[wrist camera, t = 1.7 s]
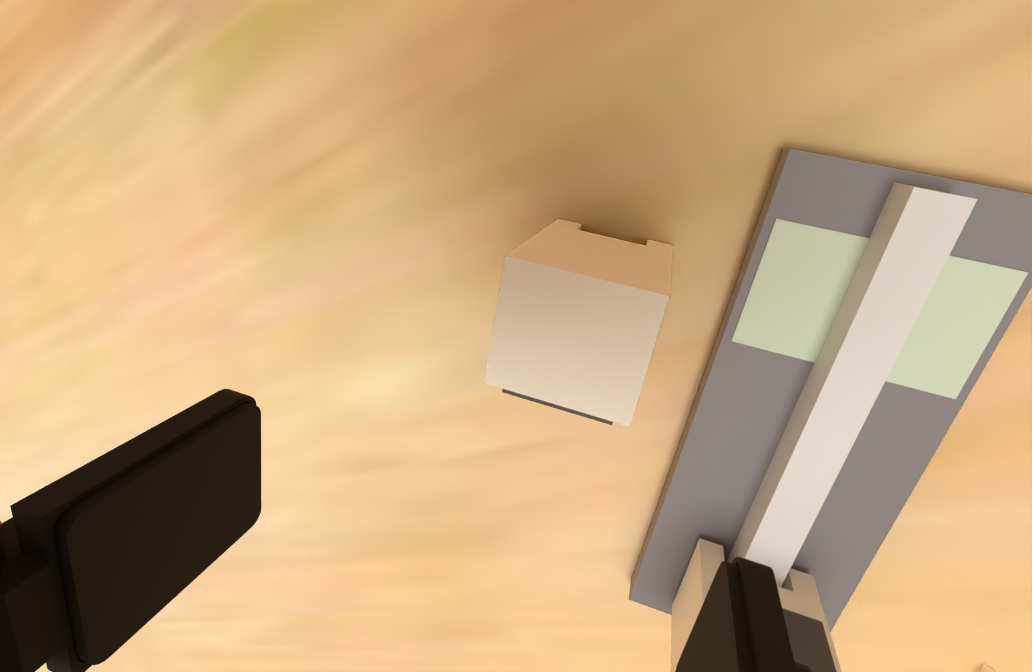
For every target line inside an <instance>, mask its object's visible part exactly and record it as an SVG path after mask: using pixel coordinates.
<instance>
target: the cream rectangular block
mask: <svg viewBox="0 0 1032 672" xmlns="http://www.w3.org/2000/svg"><path fill="white" fill-rule="evenodd" d="M581 227H582V224H579V223H575V222H571V221H566V220H562V219H557V220H556V221H554V222H553V223H551V224H550V225H548V226H547V227H545V228H544V229H543V230H541V231H540V232H538V233H537V234H535V235H534V236H532V237H531V238H530V239H528V240H527V241H525V242H524V243H522V244H521V245H520V246H518V247H517V248H515V249H514V250H512V251H511V252H509V253H508V254H507V255H505V260H504V266H503V272H502V278H501V284H500V290H499V295H498V301H497V307H496V313H495V319H494V324H493V330H492V336H491V342H490V348H489V354H488V359H487V365H486V371H485V377H484V383H485V384H489V385H492V386H495V387H499V388H502V389H503V390H502V392H504V393H507V394H511V395H514V396H517V397H520V398H524V399H527V400H530V401H534V402H537V403H540V404H544V405H547V406H550V407H554V408H557V409H560V410H564V411H567V412H570V413H574V414H577V415H580V416H584V417H587V418H590V419H594V420H597V421H600V422H604V423H607V424H610V425H612V423H613V422H616V423H619V424H622V425H626V426H629V427H630V425H631V422H632V418H633V415H634V412H635V408H636V405H637V402H638V399H639V395H640V392H641V389H642V386H643V382H644V379H645V376H646V372H647V369H648V366H649V363H650V359H651V356H652V353H653V350H654V346H655V343H656V340H657V336H658V333H659V330H660V327H661V323H662V320H663V317H664V313H665V310H666V307H667V304H668V300H669V297H670V285H671V271H672V256H673V245H670V244H666V243H662V242H657V241H653V240H649V239H648V240H647V243H646V246H645V245H641V244H637V243H632V242H628V241H624V240H619V239H615V238H611V237H607V236H602V235H598V234H594V233H589V232H585V231H581Z"/></svg>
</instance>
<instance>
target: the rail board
mask: <svg viewBox="0 0 1032 672" xmlns="http://www.w3.org/2000/svg"><path fill="white" fill-rule="evenodd" d="M1031 287H1032V194H1029V193H1024V192H1018V191H1013V190H1008V189H1002V188H997V187H992V186H987V185H981V184H976V183H971V182H966V181H960V180H955V179H950V178H944V177H939V176H934V175H929V174H923V173H918V172H913V171H907V170H902V169H897V168H892V167H886V166H881V165H876V164H870V163H865V162H860V161H855V160H849V159H844V158H839V157H833V156H828V155H823V154H818V153H812V152H807V151H802V150H796V149H791V148H783V151H782V154H781V157H780V160H779V162H778V165H777V168H776V171H775V174H774V177H773V179H772V182H771V185H770V188H769V191H768V194H767V196H766V199H765V202H764V205H763V208H762V211H761V213H760V216H759V219H758V222H757V225H756V228H755V230H754V233H753V236H752V239H751V242H750V245H749V247H748V250H747V253H746V256H745V259H744V262H743V264H742V267H741V270H740V273H739V276H738V279H737V281H736V284H735V287H734V290H733V293H732V295H731V298H730V301H729V304H728V307H727V310H726V312H725V315H724V318H723V321H722V324H721V327H720V329H719V332H718V335H717V338H716V341H715V344H714V346H713V349H712V352H711V355H710V358H709V361H708V363H707V366H706V369H705V372H704V375H703V378H702V380H701V383H700V386H699V389H698V392H697V395H696V397H695V400H694V403H693V406H692V409H691V412H690V414H689V417H688V420H687V423H686V426H685V429H684V431H683V434H682V437H681V440H680V443H679V446H678V448H677V451H676V454H675V457H674V460H673V463H672V465H671V468H670V471H669V474H668V477H667V480H666V482H665V485H664V488H663V491H662V494H661V496H660V499H659V502H658V505H657V508H656V511H655V513H654V516H653V519H652V522H651V525H650V528H649V530H648V533H647V536H646V539H645V542H644V545H643V547H642V550H641V553H640V556H639V559H638V562H637V564H636V567H635V570H634V573H633V576H632V579H631V585H630V594H629V600H632V601H635V602H638V603H640V604H643V605H646V606H649V607H651V608H654V609H657V610H660V611H662V612H665V613H668V614H671V615H672V627H671V672H675V670H676V667H677V664H678V661H679V659H680V656H681V654H682V652H683V649H684V647H685V645H686V642H687V640H688V638H689V635H690V633H691V631H692V628H693V626H694V624H695V621H696V619H697V617H698V614H699V612H700V610H701V607H702V605H703V603H704V600H705V598H706V596H707V593H708V591H709V589H710V586H711V584H712V582H713V579H714V577H715V575H716V572H717V570H718V568H719V565H720V564H721V562H722V561H726V562H729V563H732V561H733V559H734V558H735V557H741V558H745V559H748V560H751V561H754V562H757V563H760V564H763V565H766V566H769V567H771V568H772V569H773V572H774V575H775V579H776V584H777V588H778V592H779V597H780V601H781V605H782V610H783V614H784V618H785V623H786V627H787V631H788V636H789V640H790V644H791V649H792V653H793V657H794V662H797V663H800V664H803V665H806V666H808V667H809V668H810V670H811V671H812V672H842V671H841V668H840V664H839V661H838V658H837V654H836V651H835V648H834V644H833V641H832V638H831V634H830V632H831V630H832V628H833V627H834V625H835V623H836V621H837V620H838V618H839V616H840V615H841V613H842V611H843V609H844V608H845V606H846V604H847V603H848V601H849V599H850V597H851V596H852V594H853V592H854V591H855V589H856V587H857V585H858V584H859V582H860V580H861V579H862V577H863V575H864V573H865V572H866V570H867V568H868V567H869V565H870V563H871V561H872V560H873V558H874V556H875V555H876V553H877V551H878V549H879V548H880V546H881V544H882V543H883V541H884V539H885V537H886V536H887V534H888V532H889V531H890V529H891V527H892V525H893V524H894V522H895V520H896V519H897V517H898V515H899V513H900V512H901V510H902V508H903V507H904V505H905V503H906V501H907V500H908V498H909V496H910V495H911V493H912V491H913V489H914V488H915V486H916V484H917V483H918V481H919V479H920V477H921V476H922V474H923V472H924V471H925V469H926V467H927V465H928V464H929V462H930V460H931V459H932V457H933V455H934V453H935V452H936V450H937V448H938V447H939V445H940V443H941V441H942V440H943V438H944V436H945V435H946V433H947V431H948V429H949V428H950V426H951V424H952V423H953V421H954V419H955V417H956V416H957V414H958V412H959V411H960V409H961V407H962V405H963V404H964V402H965V400H966V399H967V397H968V395H969V393H970V392H971V390H972V388H973V387H974V385H975V383H976V381H977V380H978V378H979V376H980V375H981V373H982V371H983V369H984V368H985V366H986V364H987V363H988V361H989V359H990V357H991V356H992V354H993V352H994V351H995V349H996V347H997V345H998V344H999V342H1000V340H1001V338H1002V337H1003V335H1004V333H1005V332H1006V330H1007V328H1008V326H1009V325H1010V323H1011V321H1012V320H1013V318H1014V316H1015V314H1016V313H1017V311H1018V309H1019V308H1020V306H1021V304H1022V302H1023V301H1024V299H1025V297H1026V296H1027V294H1028V292H1029V290H1030V289H1031Z"/></svg>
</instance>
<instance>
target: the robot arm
mask: <svg viewBox="0 0 1032 672" xmlns="http://www.w3.org/2000/svg"><path fill="white" fill-rule="evenodd" d="M11 511H12V515H13V518H11V519H9V520H7V521H5V522H4V523H2V524H1V521H0V672H35V671H36V670H37V669H39V668H40V667H41V666H42V665H43V664H45V663H46V664H47V668H48V670H50V671H52V672H85V671H86V670H87V669H88V668H89V667H90V666H92V665H97V664H100V663H102V662H104V661H105V660H106V659H108V658H109V657H110V656H111V655H112V654H113V653H114V652H116V651H117V650H118V649H119V648H120V647H121V646H122V645H123V644H124V643H125V642H126V641H128V640H129V639H130V638H131V637H132V636H133V635H134V634H135V633H136V632H137V631H139V630H140V629H141V628H142V627H143V626H144V625H145V624H146V623H147V622H148V621H149V620H151V619H152V618H153V617H154V616H155V615H156V614H157V613H158V612H159V611H160V610H162V609H163V608H164V607H165V606H166V605H167V604H168V603H169V602H170V601H171V600H172V599H174V598H175V597H176V596H177V595H178V594H179V593H180V592H181V591H182V590H183V589H184V588H186V587H187V586H188V585H189V584H190V583H191V582H192V581H193V580H194V579H195V578H197V577H198V576H199V575H200V574H201V573H202V572H203V571H204V570H205V569H206V568H207V567H209V566H210V565H211V564H212V563H213V562H214V561H215V560H216V559H217V558H218V557H219V556H221V555H222V554H223V553H224V552H225V551H226V550H227V549H228V548H229V547H230V546H232V545H233V544H234V543H235V542H236V541H237V540H238V539H239V538H240V537H241V536H242V535H244V534H245V533H246V532H247V531H248V530H249V529H250V528H251V527H252V526H253V525H254V524H255V522H256V521H257V519H258V517H259V515H260V512H261V411H260V409H259V407H257V406H256V401H255V400H254V398H252V397H251V396H248V395H245V394H242V393H239V392H236V391H233V390H230V389H223V390H220V391H218V392H216V393H215V394H213V395H211V396H209V397H207V398H206V399H204V400H202V401H200V402H198V403H196V404H195V405H193V406H191V407H189V408H187V409H186V410H184V411H182V412H180V413H178V414H176V415H175V416H173V417H171V418H169V419H167V420H166V421H164V422H162V423H160V424H158V425H156V426H155V427H153V428H151V429H149V430H147V431H146V432H144V433H142V434H140V435H138V436H136V437H135V438H133V439H131V440H129V441H127V442H126V443H124V444H122V445H120V446H118V447H116V448H115V449H113V450H111V451H109V452H107V453H106V454H104V455H102V456H100V457H98V458H96V459H95V460H93V461H91V462H89V463H87V464H85V465H84V466H82V467H80V468H78V469H76V470H75V471H73V472H71V473H69V474H67V475H65V476H64V477H62V478H60V479H58V480H56V481H55V482H53V483H51V484H49V485H47V486H45V487H44V488H42V489H40V490H38V491H36V492H35V493H33V494H31V495H29V496H27V497H25V498H24V499H22V500H20V501H18V502H16V503H15V504H13V505H11ZM675 672H812V671H811V670H810V668H809V667H808V666H806V665H803V664H800V663H797V662H794V657H793V653H792V649H791V644H790V640H789V636H788V631H787V627H786V623H785V618H784V614H783V610H782V605H781V601H780V597H779V592H778V588H777V584H776V579H775V575H774V572H773V569H772V568H771V567H769V566H766V565H763V564H760V563H757V562H754V561H751V560H748V559H745V558H741V557H735V558H734V559H733V561H732V563H729V562H726V561H722V562H721V564H720V565H719V568H718V570H717V572H716V575H715V577H714V579H713V582H712V584H711V586H710V589H709V591H708V593H707V596H706V598H705V600H704V603H703V605H702V607H701V610H700V612H699V614H698V617H697V619H696V621H695V624H694V626H693V628H692V631H691V633H690V635H689V638H688V640H687V642H686V645H685V647H684V649H683V652H682V654H681V656H680V659H679V661H678V664H677V667H676V670H675Z"/></svg>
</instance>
